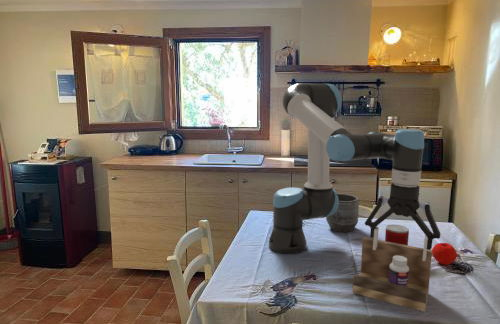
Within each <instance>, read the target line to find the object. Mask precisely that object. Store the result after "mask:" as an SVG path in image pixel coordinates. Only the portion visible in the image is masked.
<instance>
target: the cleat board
mask: <svg viewBox="0 0 500 324" xmlns="http://www.w3.org/2000/svg"><path fill="white" fill-rule="evenodd" d="M373 240H374V238H371V237H370V238H369V237H365V236H364V237H363V238H362V241H361V259H360V260H361V261H360V273H359V274H353V277H352V293H353V294H357V295H360V296H364V297H368V298H371V299H374V300H379V301H382V302H386V303H389V304H390V303H391V304H394V305H397V304H398V305H397V306H400V307H404V306H406V307H405V308H408V307H410V308H409V309H412V308H414V309H413V310H415V309H417V310H416V311H419V310H421V311H420V312H423V311H425V312H426V309H427V303H428V297H429V291H430V290H429V289H430V281H431V280H430V278H431V268H432V267H431V265H432V257H433V254H432V249H431V250H428V249H427V254H426V260H425V261H422V259H423V249H424V247H418V246H413V245H409V244H408V245H403V244H397V243H392V242H387V241H385V240H380V239H378V243H377V248H376V250H373ZM396 255H398V256H403V257H405V258H407V266H408V267H409V276H408V287H405V286H401V285H397V284H393V283H388V279H389V266H390V264H391V263H392V259H393V256H396Z"/></svg>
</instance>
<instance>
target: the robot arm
mask: <svg viewBox="0 0 500 324" xmlns="http://www.w3.org/2000/svg"><path fill="white" fill-rule="evenodd" d="M282 105H283V106H282V107H283V109H284V111H285V112H286V114H287V115H289V116H290V117H291V118H293V119H297V120H298V121H299V122H300V123H302V124H303V126H305V127H306V128H307V129H308V133H307V135H308V137H307V139H308V140H307V142H308V143H307V181H305V183H304V184H303V189H302V188H300V187H295V186H294V187H292V186H291V187H284V188H281V189H278V190H276V192H275V193H274V194H273V200H272V201H273V202H272V206H273V207H272V208H273V209H272V210H273V214H272V216H273V221H272V223H273V224H272V225H273V226H272V231H271V233H270V236H269V238H268V248H269V247H270V248H269V249H270V250H272V251H273V252H275V253H279V254H287V255H290V254H298V253H299V254H300V253H302V252H304V251H305V250H306V249H307V239H306V235H305V233H304V230H303V223H304V222H303V221H307V220H314V219H323V218H324V219H326V217H327V216H331V215H333V214H334V213H335V212H336V210H337V208H338V203H339V199H338V196H337V194H338V192H337V190H336V189H334V185H333V184H332V183H331V182H330V164H331V163H330V160H332V161H334V162H348V161H357V160H373V159H385V160H388V161H389V160H390V161H392V167H391V168H392V169H391V179H390V181H391V184H390V192H389V193H390V195H389V198H388V197H384V196H383V195H380V196H379V198H378V199H377V202H376V205H375V207H374V208H373V210H372V211H371V212H370V214H369V216H368V217H367V219H366V220H365V222H364V225H365V226H367V227H370V232H369V235H370V236H369V237H370V238H371V239H374V240H373V250H376V248H377V243H378V240H379V230H380V229H379V225H380V224H381V223H383V222H384V221H385V220H386V219H388V218H389V217H390V216H391V215H393V214H395V215H396V216H403V217H405V218H409V217H411V218H412V220H413V221H414V222H415V223H416V224H417V225H418V227H419V228H420V230H421V231H422V233H424V235H425V237H424V241H423V248H424V249H423V259H422V261H425V260H426V254H427V249H428V250H432V249H433V247H432V246H433V240H434V239H436V240H438V239H440V238H441V230H440V229H439V226H438V224H437V222H436V220H435V217H434V216H433V213H432V211H431V203H430V202H426V203H421V202H420V201H419V198H420V197H419V196H420V186H419V185H420V184H421V176H422V165H423V156H424V150H425V149H424V148H425V132H424V131H422V130H420V129H412V128H399V129H396V131H395V133H394V134H392V133H385V132H382V131H381V132H380V131H371V132H368V133H359V134H358V133H357V134H354V133H352V132H350V131H349V130H348V129H347V128H345V127H344V126H343V125H341V123H339V122H338V121H336V120H335V118H336V117H335V114H336V113H338V112H339V111H340V108H341V107H342V95H341V92H340V90H339V89H338V88H337V86H336V85H334V84H331V83H324V82H323V83H319V82H318V83H311V82H310V83H307V82H306V83H304V82H300V83H294V84H291V86H289V87H288V88H287V89H286V90H285V91H284V93H283V97H282ZM386 203H387V204H388V206H389V209H388V210H387V211H385V212H384V213H383V214H381V216H379V217H378V218H377V219H376V220H374V221H373V219H374V218H375V216H376V215H377V213H378V212H379V210H380V209H381V207H382V206H385V205H386ZM418 209H421V211H422V212H424V213H425V217H426V218H427V222H428V223H429V226H430V228H431V229H430V228H429V227H428V225H427V224H426V223H425V221H424V219H422V218H421V216H420V214H419V213H418V212H417V210H418Z"/></svg>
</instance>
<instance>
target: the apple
mask: <svg viewBox="0 0 500 324" xmlns="http://www.w3.org/2000/svg"><path fill="white" fill-rule="evenodd" d="M431 250H432V257H433V258H434V259H435V260H436V262H438V263H439V264H441V265H444V266H448V265H450V264H452V263H454V262H455V261H456V259H457V257H458V252H457V251H456V249H455V247H454V246H453V245H452V244H449V243H447V242H438V243H437V244H435V245H433V247H432V248H431Z"/></svg>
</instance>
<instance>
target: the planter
mask: <svg viewBox="0 0 500 324" xmlns="http://www.w3.org/2000/svg"><path fill="white" fill-rule="evenodd" d="M337 196H338V199H339V203H338V208H337V210H336V212H335V213H334V214H333V215H331V216H327V217H325V220H326V223H327V225H328V226H329V228H330V229H331V230H332V231H335V232H338V233H350V231H351V232H352V231H353V230H354V229H355V228H356V226H357V224H358V223H359V211H360V210H359V208H360V198H359V197H358V196H357V195H354V194H350V193H337Z"/></svg>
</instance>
